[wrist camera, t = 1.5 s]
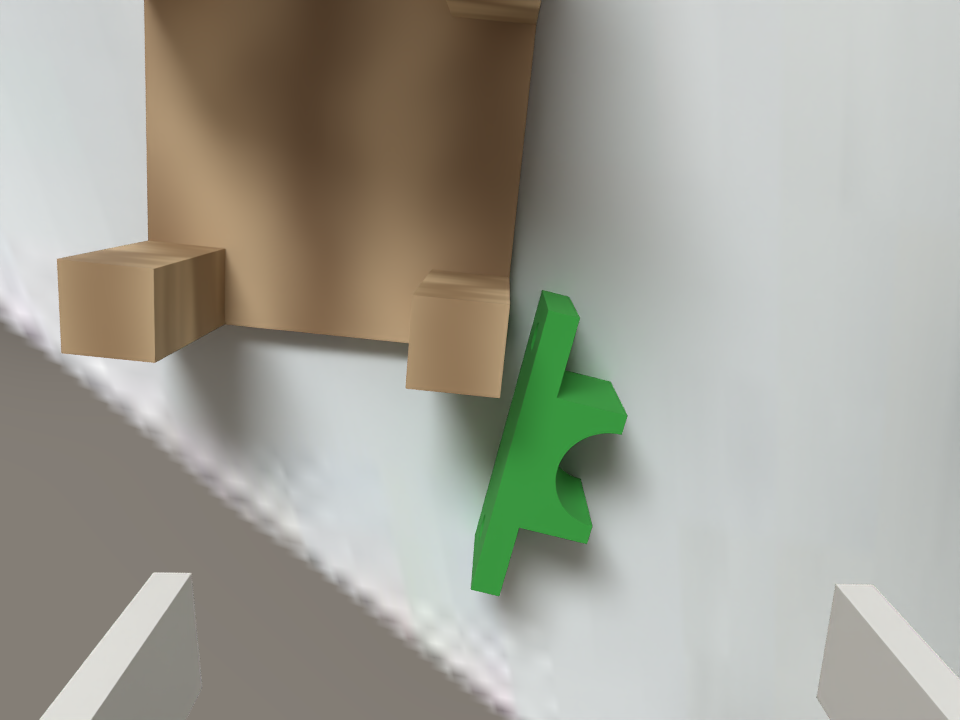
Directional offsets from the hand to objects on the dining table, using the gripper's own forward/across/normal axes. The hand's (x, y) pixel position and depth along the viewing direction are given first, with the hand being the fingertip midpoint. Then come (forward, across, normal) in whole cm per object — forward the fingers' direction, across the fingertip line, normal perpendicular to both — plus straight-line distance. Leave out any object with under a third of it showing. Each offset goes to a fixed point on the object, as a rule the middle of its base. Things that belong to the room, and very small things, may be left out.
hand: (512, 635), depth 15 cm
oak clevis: (+17, +6, -13) cm, 22 cm away
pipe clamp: (+16, -2, +2) cm, 17 cm away
